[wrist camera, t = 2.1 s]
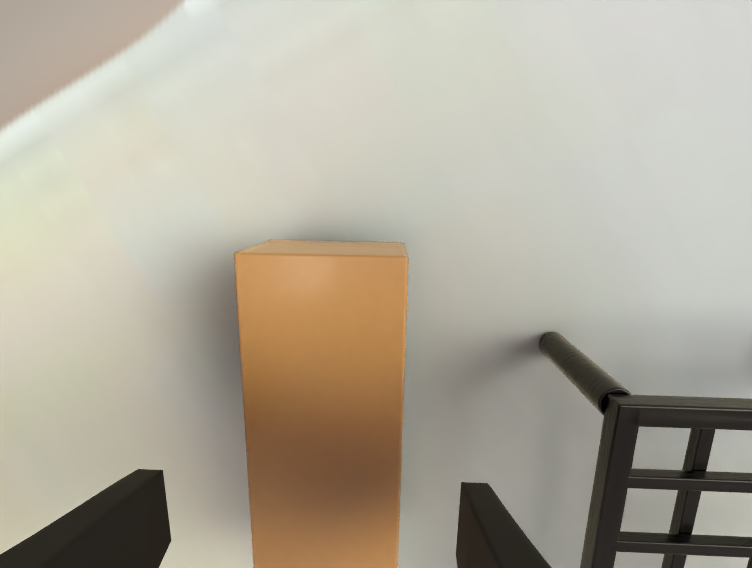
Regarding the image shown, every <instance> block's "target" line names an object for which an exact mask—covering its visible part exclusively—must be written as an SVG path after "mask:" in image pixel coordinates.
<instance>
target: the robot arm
mask: <svg viewBox="0 0 752 568" xmlns="http://www.w3.org/2000/svg"><path fill="white" fill-rule="evenodd" d="M170 542H171V535H170V526H169V518H168V510H167V501H166V493H165V484H164V476H163V470H146V469H138V470H136V471H134V472H133V473H131V474H129V475H127V476H126V477H124V478H122V479H121V480H119V481H117V482H116V483H114V484H113V485H111V486H109V487H108V488H106V489H105V490H103V491H102V492H100V493H98V494H97V495H95V496H94V497H92V498H91V499H89V500H87V501H86V502H84V503H83V504H81V505H80V506H78V507H77V508H75V509H73V510H72V511H70V512H69V513H67V514H65V515H64V516H62V517H61V518H59V519H58V520H56V521H54V522H53V523H51V524H50V525H48V526H47V527H45V528H43V529H42V530H40V531H39V532H37V533H35V534H34V535H32V536H31V537H29V538H27V539H26V540H24V541H22V542H21V543H19V544H17V545H16V546H14V547H12V548H11V549H9V550H7V551H6V552H4V553H2V554H1V555H0V568H159V566H160V564H161V562H162V559H163V557H164V555H165V553H166V551H167V549H168V546H169V544H170ZM456 558H457V566H458V568H551V567H550V565H549V564H548V563H547V562H546V560H545V559H544V558H543V557H542V555H541V554H540V553H539V552H538V550H537V549H536V548H535V547H534V545H533V544H532V543H531V541H530V540H529V539H528V538H527V536H526V535H525V534H524V532H523V531H522V530H521V528H520V527H519V526H518V524H517V523H516V522H515V520H514V519H513V518H512V516H511V515H510V513H509V512H508V511H507V509H506V508H505V506H504V505H503V504H502V502H501V501H500V499H499V498H498V496H497V495H496V494H495V492H494V491H493V489H492V488H491V487H490V486H489V485H488V484H487V483H465V482H461V494H460V507H459V521H458V534H457V547H456Z"/></svg>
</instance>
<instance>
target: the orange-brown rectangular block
mask: <svg viewBox="0 0 752 568" xmlns="http://www.w3.org/2000/svg"><path fill="white" fill-rule="evenodd" d="M234 260H235V276H236V292H237V308H238V324H239V340H240V356H241V372H242V388H243V404H244V420H245V436H246V452H247V468H248V484H249V500H250V516H251V532H252V548H253V564H254V568H398V543H399V514H400V485H401V456H402V427H403V399H404V370H405V341H406V312H407V283H408V256H407V252H406V248H405V245H404V243H402V242H355V241H307V240H268V241H266V242H263V243H260V244H258V245H255V246H252V247H249V248H247V249H244V250H241V251H239V252H236V253H235V254H234Z"/></svg>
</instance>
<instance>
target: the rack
mask: <svg viewBox="0 0 752 568" xmlns="http://www.w3.org/2000/svg"><path fill="white" fill-rule="evenodd" d="M539 347H540V350H541V351H542V352H543V353H544V354H545V355H546V356H547V357H548V358H549V359H550V360H551V361H552V363H553V364H554V365H555V366H556V367H557V368H558V369H559V370H560V371H561V372H562V373H563V374H564V375H565V376H566V377H567V378H568V379H569V380H570V381H571V382H572V383H573V384H574V385H575V386H576V387H577V388H578V390H579V391H580V392H581V393H582V394H583V395H584V396H585V397H586V398H587V399H588V400H589V401H590V402H591V403H592V404H593V405H594V406H595V407H596V408H597V409H598V410H599V411H600V412H601V413H602V414H603V415H604V420H603V427H602V433H601V439H600V446H599V452H598V458H597V465H596V471H595V477H594V484H593V490H592V496H591V503H590V509H589V515H588V522H587V528H586V534H585V540H584V547H583V553H582V559H581V566H580V568H613V566H614V561H615V555H616V551H617V552H639V553H661V554H664V559H663V563H662V568H684V565H685V561H686V556H687V555H705V556H727V557H749V561H748V565H747V568H752V537H737V536H714V535H691V534H692V530H693V526H694V521H695V517H696V512H697V508H698V504H699V499H700V495H701V491H717V492H741V493H752V473H735V472H709V471H706V469H707V464H708V460H709V455H710V451H711V447H712V442H713V438H714V434H715V429H729V430H752V399H742V398H711V397H681V396H650V395H631V394H630V392H629V391H628V390H626V389H625V388H624V387H623V386H622V385H620V384H619V383H618V382H617V381H615V380H614V379H613V378H612V377H611V376H609V375H608V374H607V373H606V372H605V371H603V370H602V369H601V368H600V367H599V366H597V365H596V364H595V363H594V362H592V361H591V360H590V359H589V358H588V357H586V356H585V355H584V354H583V353H582V352H580V351H579V350H578V349H577V348H576V347H574V346H573V345H572V344H571V343H570V342H568V341H567V340H566V339H565V338H563V337H562V336H561V335H560V334H558V333H556V332H549V333H546V334H545V335H543V336H542V337H541V339H540V341H539ZM639 426H644V427H672V428H691V432H690V437H689V441H688V446H687V451H686V455H685V460H684V465H683V469H682V470H658V469H632V468H631V467H632V461H633V456H634V450H635V444H636V439H637V433H638V428H639ZM628 488H642V489H667V490H678V493H677V498H676V502H675V507H674V512H673V516H672V521H671V526H670V530H669V534H668V533H645V532H623V531H620V528H621V522H622V516H623V511H624V505H625V500H626V494H627V489H628Z"/></svg>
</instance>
